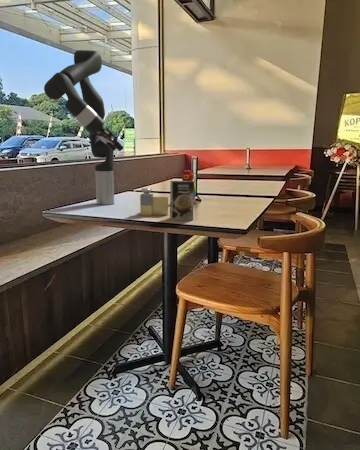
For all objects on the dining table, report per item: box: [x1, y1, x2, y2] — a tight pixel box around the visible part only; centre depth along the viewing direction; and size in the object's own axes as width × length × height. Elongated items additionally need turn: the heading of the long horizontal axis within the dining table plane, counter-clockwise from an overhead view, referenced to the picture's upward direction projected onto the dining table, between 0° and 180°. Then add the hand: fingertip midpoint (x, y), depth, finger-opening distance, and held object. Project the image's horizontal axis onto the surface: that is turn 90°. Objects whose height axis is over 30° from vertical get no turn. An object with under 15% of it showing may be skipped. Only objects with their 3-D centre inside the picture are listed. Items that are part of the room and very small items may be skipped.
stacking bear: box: [180, 169, 197, 205], centre depth 198 cm, size 11×10×18 cm
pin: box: [140, 187, 153, 195], centre depth 164 cm, size 5×5×12 cm
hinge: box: [139, 193, 169, 217], centre depth 167 cm, size 12×12×9 cm
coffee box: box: [169, 180, 195, 222], centre depth 153 cm, size 9×6×16 cm
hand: (118, 149), depth 153 cm, fingers open, 8 cm apart
